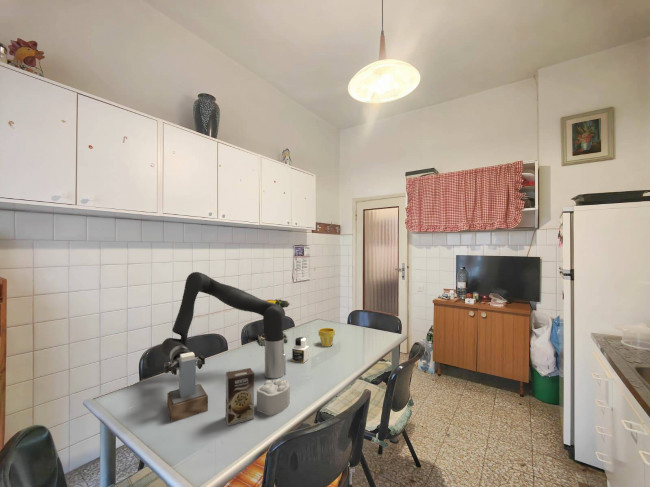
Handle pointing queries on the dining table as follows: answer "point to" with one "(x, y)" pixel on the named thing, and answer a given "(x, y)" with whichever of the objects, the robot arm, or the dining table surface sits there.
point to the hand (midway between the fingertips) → (188, 369)
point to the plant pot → (326, 336)
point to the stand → (186, 403)
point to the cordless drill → (282, 304)
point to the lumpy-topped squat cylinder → (273, 397)
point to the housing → (187, 374)
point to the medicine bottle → (300, 350)
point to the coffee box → (239, 396)
